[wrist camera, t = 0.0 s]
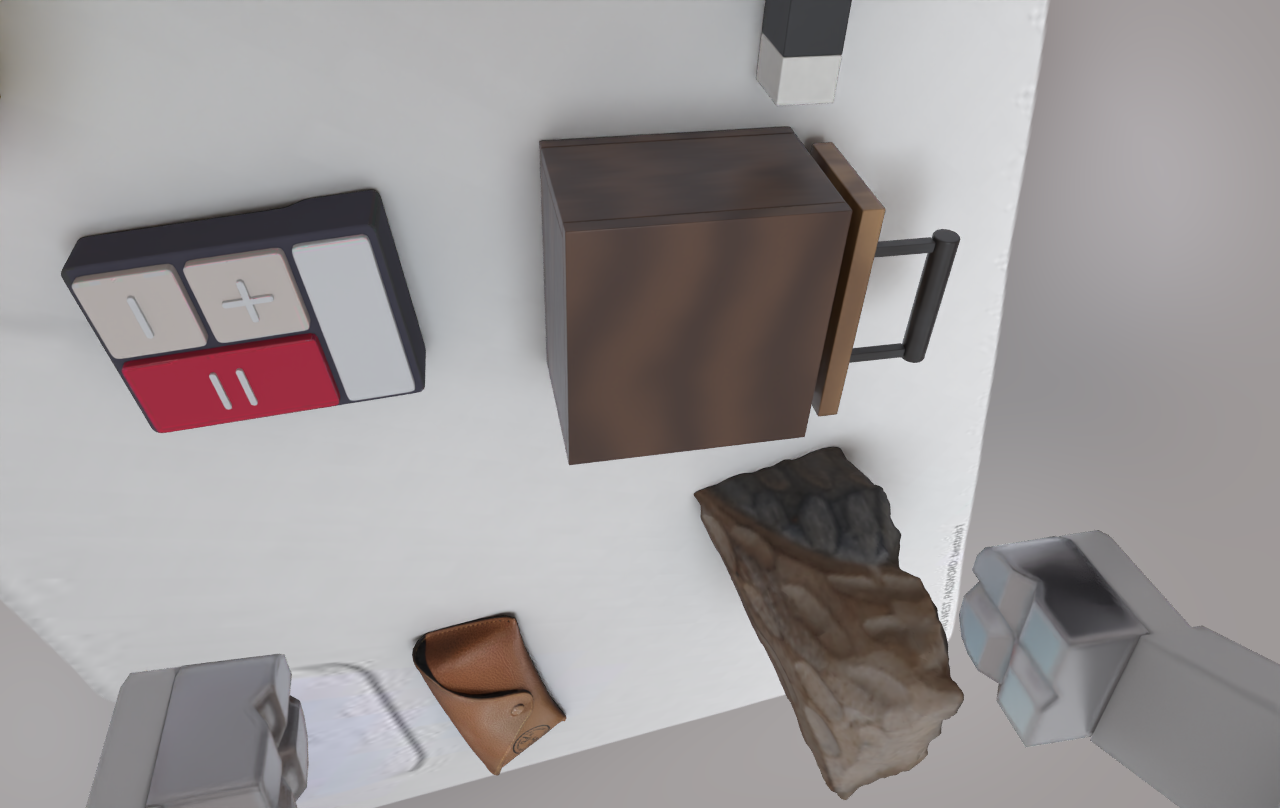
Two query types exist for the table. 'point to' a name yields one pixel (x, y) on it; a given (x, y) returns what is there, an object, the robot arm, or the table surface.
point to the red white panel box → (253, 312)
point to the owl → (836, 613)
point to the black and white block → (802, 50)
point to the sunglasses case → (487, 687)
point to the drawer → (856, 278)
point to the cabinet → (686, 288)
